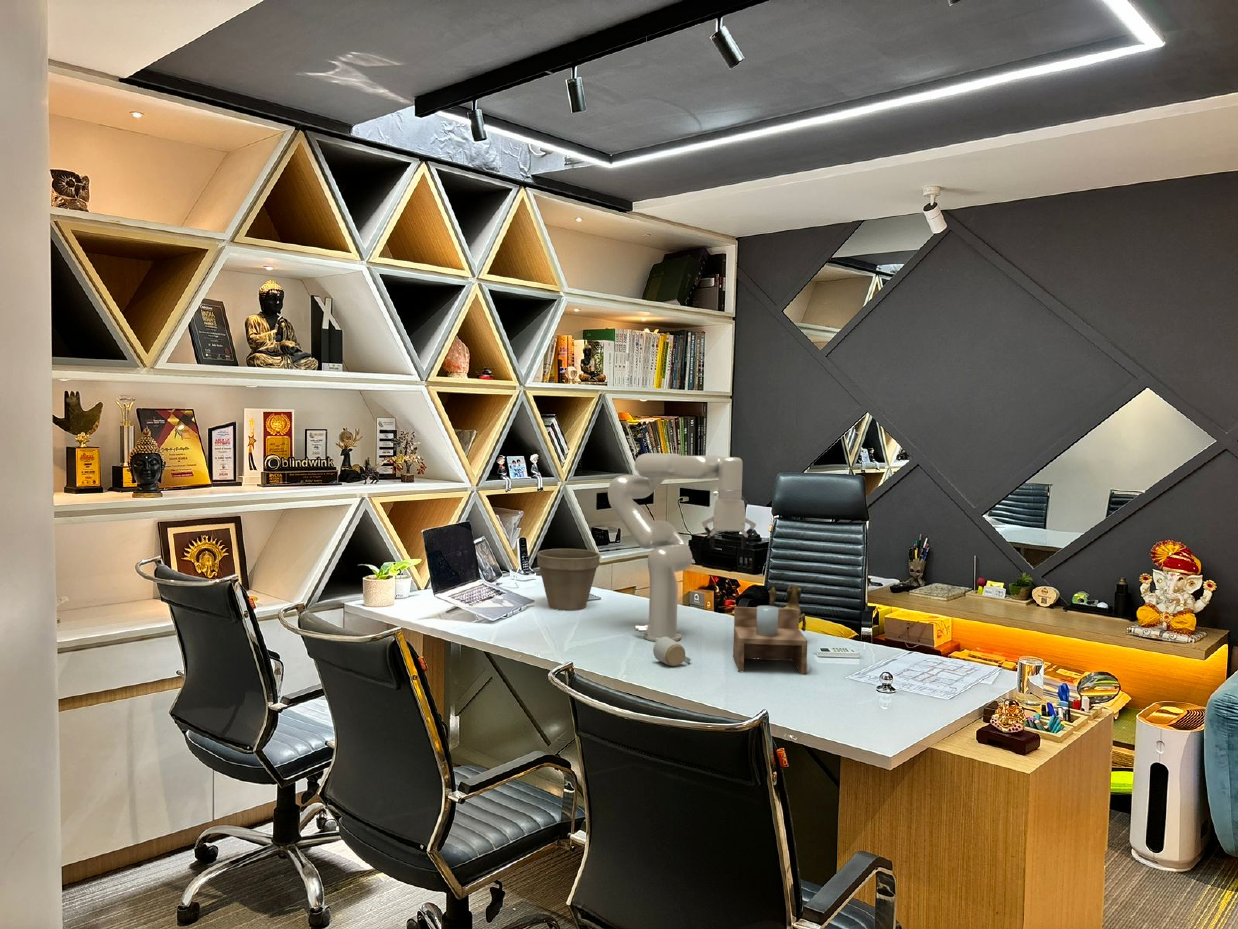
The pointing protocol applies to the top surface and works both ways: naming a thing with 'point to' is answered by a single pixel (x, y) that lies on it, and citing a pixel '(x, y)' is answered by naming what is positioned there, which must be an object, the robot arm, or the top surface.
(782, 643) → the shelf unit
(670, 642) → the ceramic mug
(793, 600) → the figurine
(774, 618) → the grey cylinder
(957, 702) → the top surface
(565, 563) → the plant pot
